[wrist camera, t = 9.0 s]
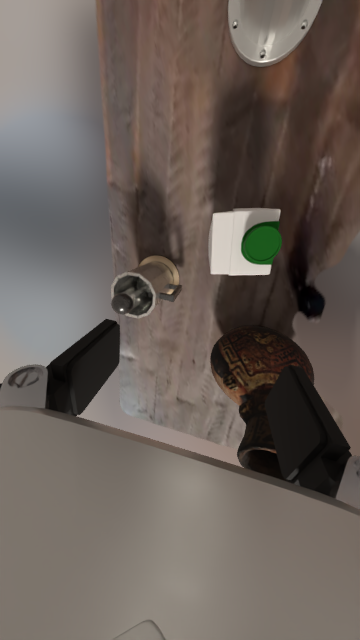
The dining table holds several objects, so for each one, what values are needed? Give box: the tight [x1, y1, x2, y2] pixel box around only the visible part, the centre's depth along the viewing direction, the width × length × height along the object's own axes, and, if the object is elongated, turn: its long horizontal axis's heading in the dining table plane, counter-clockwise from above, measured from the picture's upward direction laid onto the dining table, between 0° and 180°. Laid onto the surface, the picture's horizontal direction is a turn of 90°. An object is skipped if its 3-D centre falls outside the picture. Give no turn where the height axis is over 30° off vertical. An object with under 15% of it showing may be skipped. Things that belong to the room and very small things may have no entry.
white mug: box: [111, 261, 182, 318], centre depth 39 cm, size 8×11×14 cm
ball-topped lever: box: [111, 277, 153, 314], centre depth 35 cm, size 6×6×15 cm
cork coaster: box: [139, 255, 179, 300], centre depth 46 cm, size 11×11×1 cm
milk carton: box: [208, 208, 282, 275], centre depth 31 cm, size 9×9×20 cm
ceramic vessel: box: [211, 326, 314, 482], centre depth 35 cm, size 21×18×30 cm
